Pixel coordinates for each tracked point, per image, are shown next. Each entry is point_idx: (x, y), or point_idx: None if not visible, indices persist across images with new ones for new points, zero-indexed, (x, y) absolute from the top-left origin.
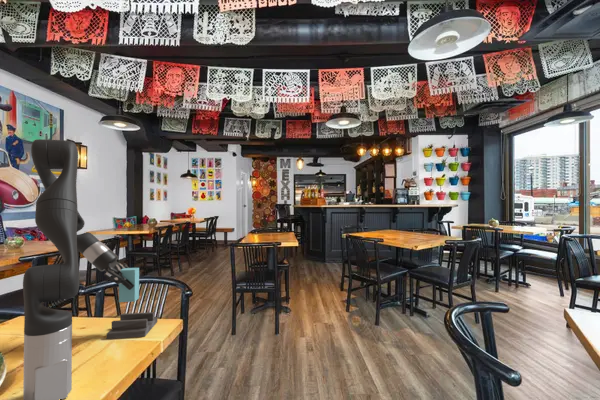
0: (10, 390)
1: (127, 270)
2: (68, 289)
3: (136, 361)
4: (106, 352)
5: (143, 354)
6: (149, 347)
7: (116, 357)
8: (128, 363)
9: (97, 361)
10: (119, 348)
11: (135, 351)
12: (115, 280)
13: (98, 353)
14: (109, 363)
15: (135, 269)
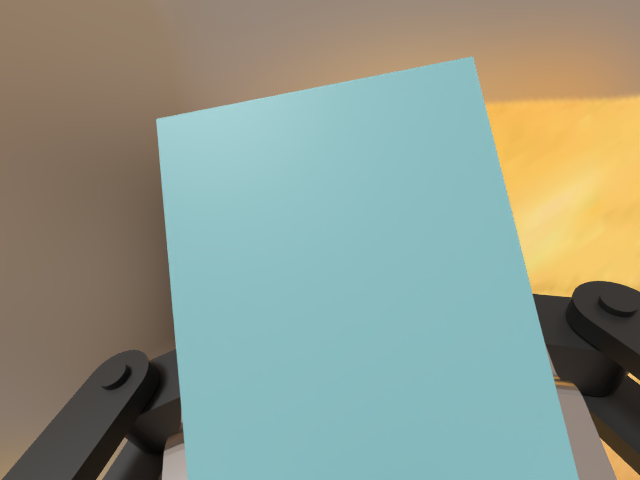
0: None
1: (517, 275)
2: None
3: (603, 105)
4: (551, 258)
5: (552, 108)
6: (497, 114)
7: (584, 194)
8: (619, 125)
9: (621, 247)
10: (515, 226)
11: (533, 149)
12: (631, 415)
13: (562, 286)
14: (628, 192)
15: (411, 75)
